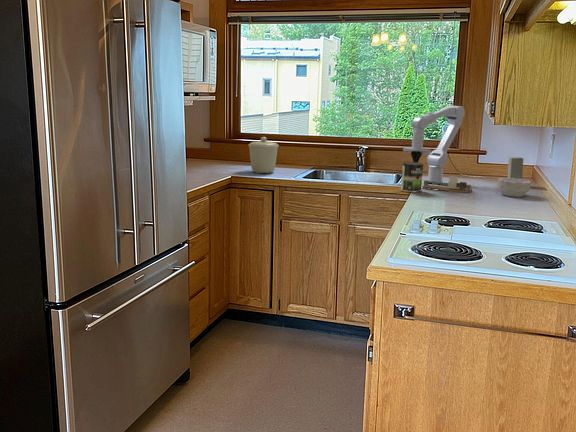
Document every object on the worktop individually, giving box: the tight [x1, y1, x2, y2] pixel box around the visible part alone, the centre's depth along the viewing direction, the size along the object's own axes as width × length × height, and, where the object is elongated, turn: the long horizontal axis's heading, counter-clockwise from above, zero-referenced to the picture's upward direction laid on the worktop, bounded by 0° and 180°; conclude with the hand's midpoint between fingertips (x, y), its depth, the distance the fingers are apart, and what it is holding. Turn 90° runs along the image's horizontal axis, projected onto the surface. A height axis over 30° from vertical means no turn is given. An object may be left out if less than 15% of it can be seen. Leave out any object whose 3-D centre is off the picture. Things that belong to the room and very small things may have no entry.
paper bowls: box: [497, 177, 532, 198], centre depth 276 cm, size 15×15×8 cm
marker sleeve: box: [447, 175, 459, 189], centre depth 285 cm, size 4×4×6 cm
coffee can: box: [400, 161, 424, 193], centre depth 280 cm, size 10×10×14 cm
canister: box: [247, 136, 280, 174], centre depth 325 cm, size 18×18×21 cm
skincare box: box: [507, 156, 524, 179], centre depth 304 cm, size 8×7×16 cm
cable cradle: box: [421, 179, 473, 194], centre depth 287 cm, size 10×24×5 cm, turn 62°
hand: (415, 165), depth 296 cm, fingers closed
